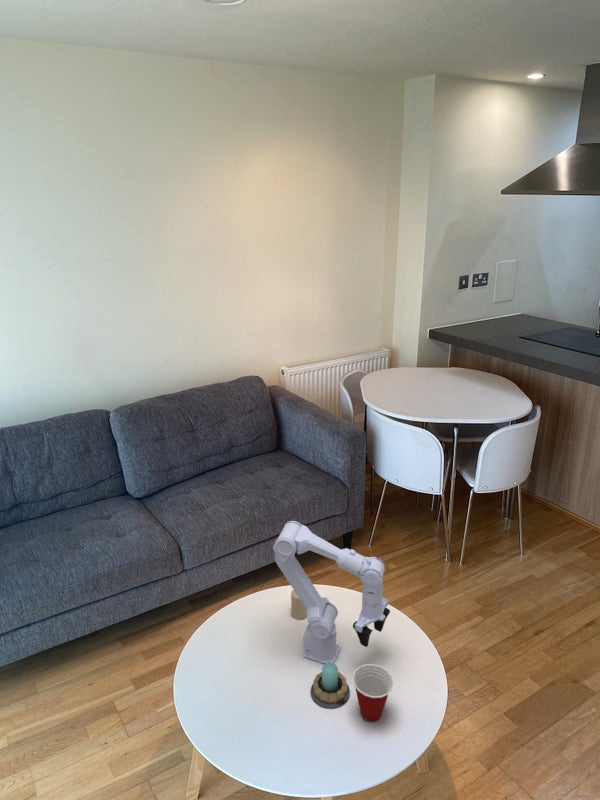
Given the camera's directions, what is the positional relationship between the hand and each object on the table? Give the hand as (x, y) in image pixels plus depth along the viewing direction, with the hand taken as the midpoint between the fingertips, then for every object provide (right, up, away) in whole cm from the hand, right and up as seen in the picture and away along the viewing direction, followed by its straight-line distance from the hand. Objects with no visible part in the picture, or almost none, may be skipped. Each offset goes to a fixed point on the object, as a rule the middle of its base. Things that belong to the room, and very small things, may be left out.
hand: (371, 637), depth 173 cm
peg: (-13, -12, -7) cm, 19 cm away
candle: (-21, -2, +24) cm, 32 cm away
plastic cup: (-1, -15, -13) cm, 20 cm away
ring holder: (-12, -13, -7) cm, 19 cm away
